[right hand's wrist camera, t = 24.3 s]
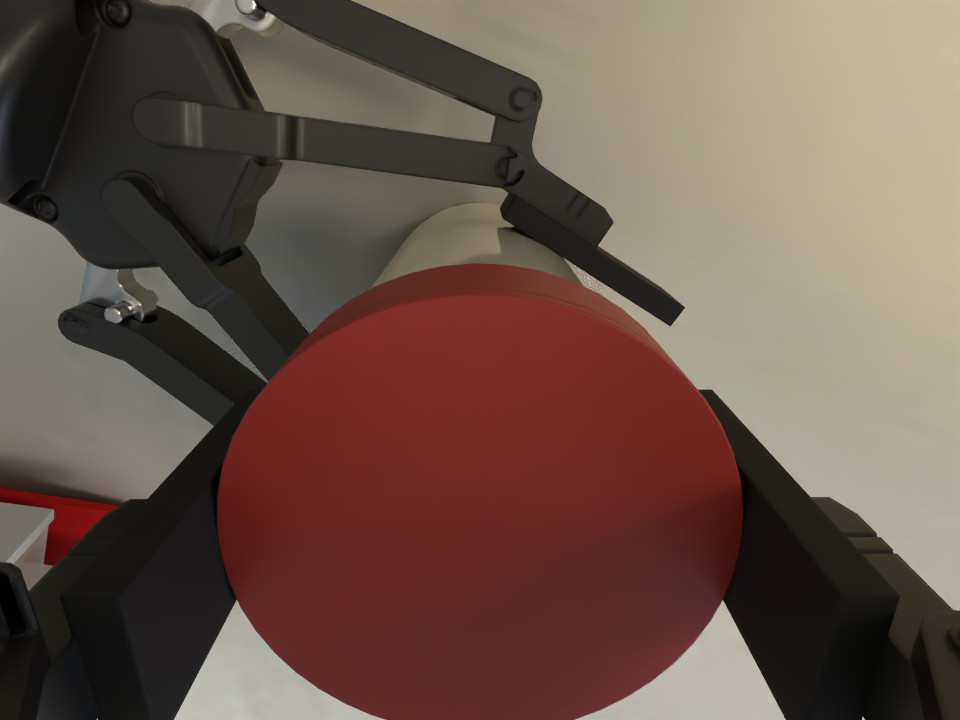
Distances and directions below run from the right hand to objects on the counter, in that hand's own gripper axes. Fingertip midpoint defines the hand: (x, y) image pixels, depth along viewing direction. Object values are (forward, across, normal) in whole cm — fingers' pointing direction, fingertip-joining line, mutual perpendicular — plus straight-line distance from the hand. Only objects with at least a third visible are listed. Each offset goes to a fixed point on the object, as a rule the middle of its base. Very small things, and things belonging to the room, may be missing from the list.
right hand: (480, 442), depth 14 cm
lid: (-3, 0, 0) cm, 3 cm away
